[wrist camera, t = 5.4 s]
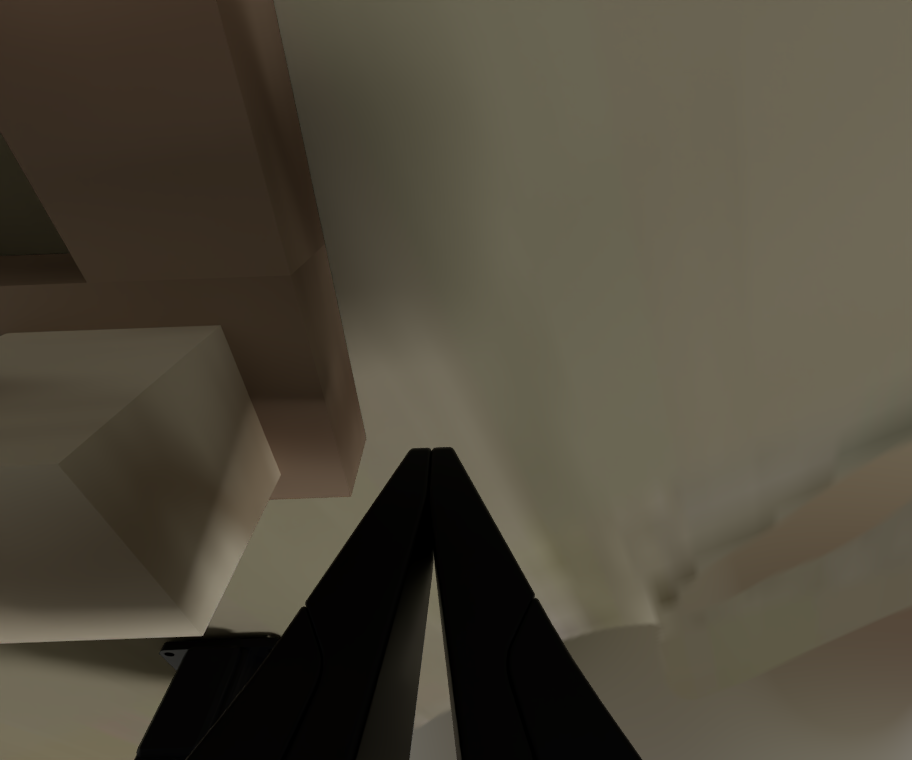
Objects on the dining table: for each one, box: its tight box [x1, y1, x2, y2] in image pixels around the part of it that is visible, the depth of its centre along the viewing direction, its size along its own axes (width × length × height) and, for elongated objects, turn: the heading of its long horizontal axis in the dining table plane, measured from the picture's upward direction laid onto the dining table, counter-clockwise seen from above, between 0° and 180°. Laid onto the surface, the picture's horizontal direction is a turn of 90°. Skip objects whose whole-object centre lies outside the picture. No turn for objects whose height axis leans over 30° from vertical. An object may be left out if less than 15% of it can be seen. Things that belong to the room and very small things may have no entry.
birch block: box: [0, 325, 281, 644], centre depth 8 cm, size 4×4×4 cm
